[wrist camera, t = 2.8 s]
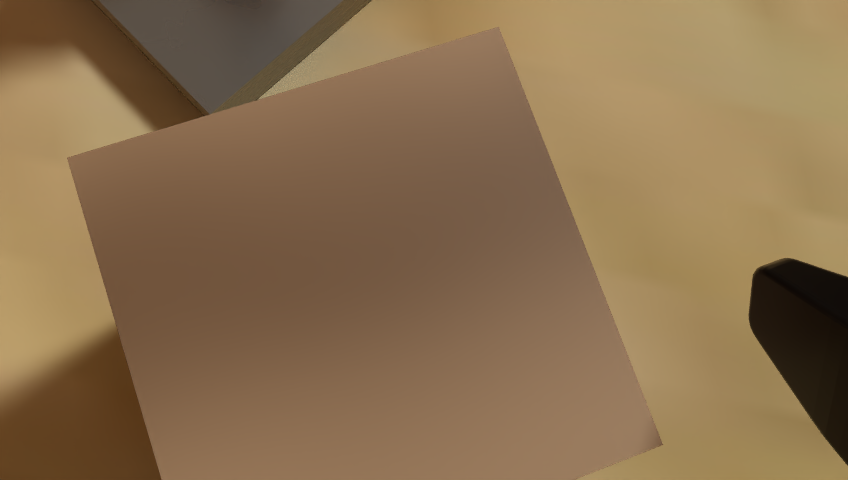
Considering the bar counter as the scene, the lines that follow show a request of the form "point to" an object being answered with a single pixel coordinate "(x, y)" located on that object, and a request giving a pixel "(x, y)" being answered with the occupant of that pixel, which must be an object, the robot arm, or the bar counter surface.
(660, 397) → the bar counter surface
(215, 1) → the height gauge
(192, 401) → the walnut block
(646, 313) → the bar counter surface
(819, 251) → the bar counter surface
